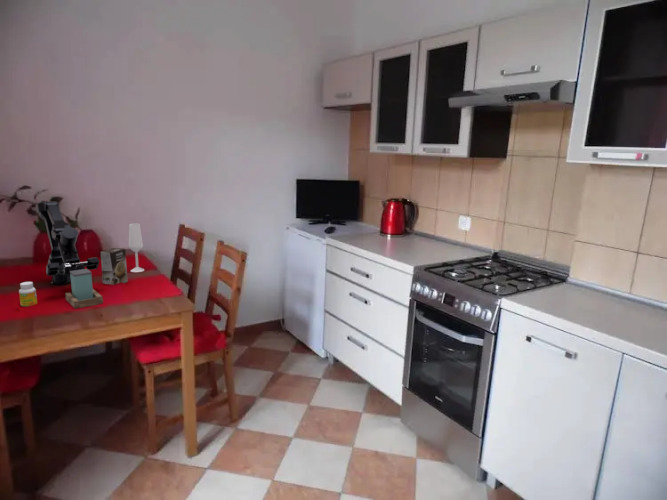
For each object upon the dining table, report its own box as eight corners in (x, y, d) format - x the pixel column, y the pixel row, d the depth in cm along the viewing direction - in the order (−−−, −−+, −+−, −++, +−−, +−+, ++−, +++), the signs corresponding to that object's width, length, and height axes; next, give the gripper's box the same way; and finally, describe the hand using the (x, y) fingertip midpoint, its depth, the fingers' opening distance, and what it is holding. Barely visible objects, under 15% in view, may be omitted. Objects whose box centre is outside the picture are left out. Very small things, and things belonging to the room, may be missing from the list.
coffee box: (115, 287, 197) (112, 252, 193) (102, 286, 198) (99, 251, 195) (128, 281, 206) (126, 248, 202) (116, 280, 207) (113, 247, 203)
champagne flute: (131, 272, 219) (127, 225, 214) (129, 269, 225) (126, 223, 219) (145, 271, 223) (142, 225, 217) (143, 268, 228) (140, 222, 223)
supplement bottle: (20, 310, 167) (16, 286, 165) (22, 305, 172) (19, 281, 170) (36, 308, 170) (33, 284, 168) (38, 303, 175) (35, 280, 172)
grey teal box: (72, 299, 177) (69, 271, 174) (89, 296, 181) (86, 268, 178) (76, 304, 172) (73, 274, 170) (94, 300, 177) (91, 272, 174)
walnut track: (64, 302, 177) (63, 293, 176) (94, 297, 184) (93, 288, 183) (74, 312, 167) (73, 302, 167) (104, 306, 175) (104, 296, 174)
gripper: (90, 259, 195) (100, 289, 190) (40, 265, 182) (50, 297, 177) (94, 245, 188) (104, 275, 183) (43, 250, 175) (53, 284, 170)
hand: (78, 283), depth 178 cm, fingers closed
